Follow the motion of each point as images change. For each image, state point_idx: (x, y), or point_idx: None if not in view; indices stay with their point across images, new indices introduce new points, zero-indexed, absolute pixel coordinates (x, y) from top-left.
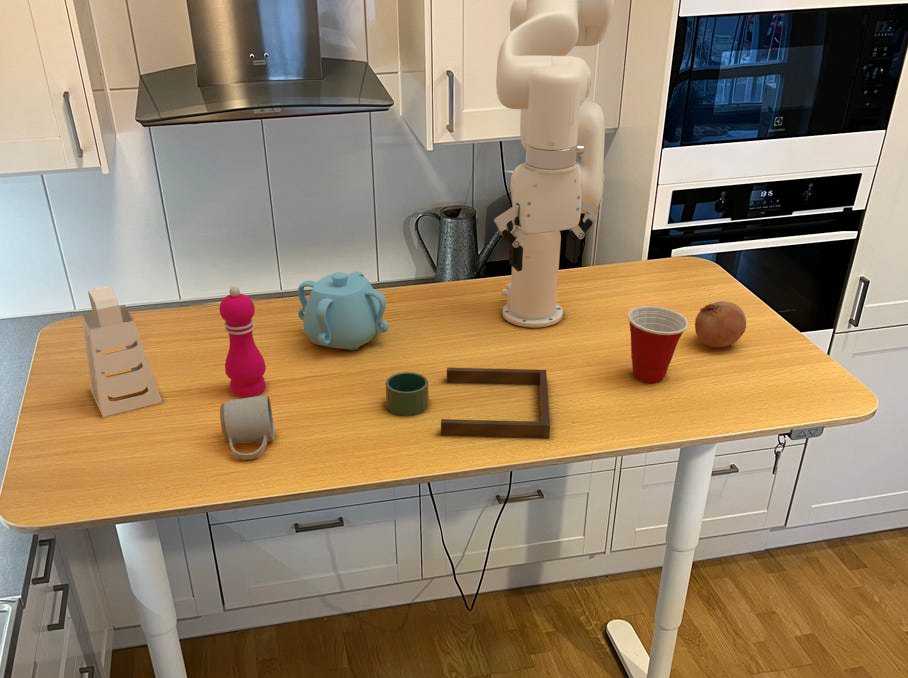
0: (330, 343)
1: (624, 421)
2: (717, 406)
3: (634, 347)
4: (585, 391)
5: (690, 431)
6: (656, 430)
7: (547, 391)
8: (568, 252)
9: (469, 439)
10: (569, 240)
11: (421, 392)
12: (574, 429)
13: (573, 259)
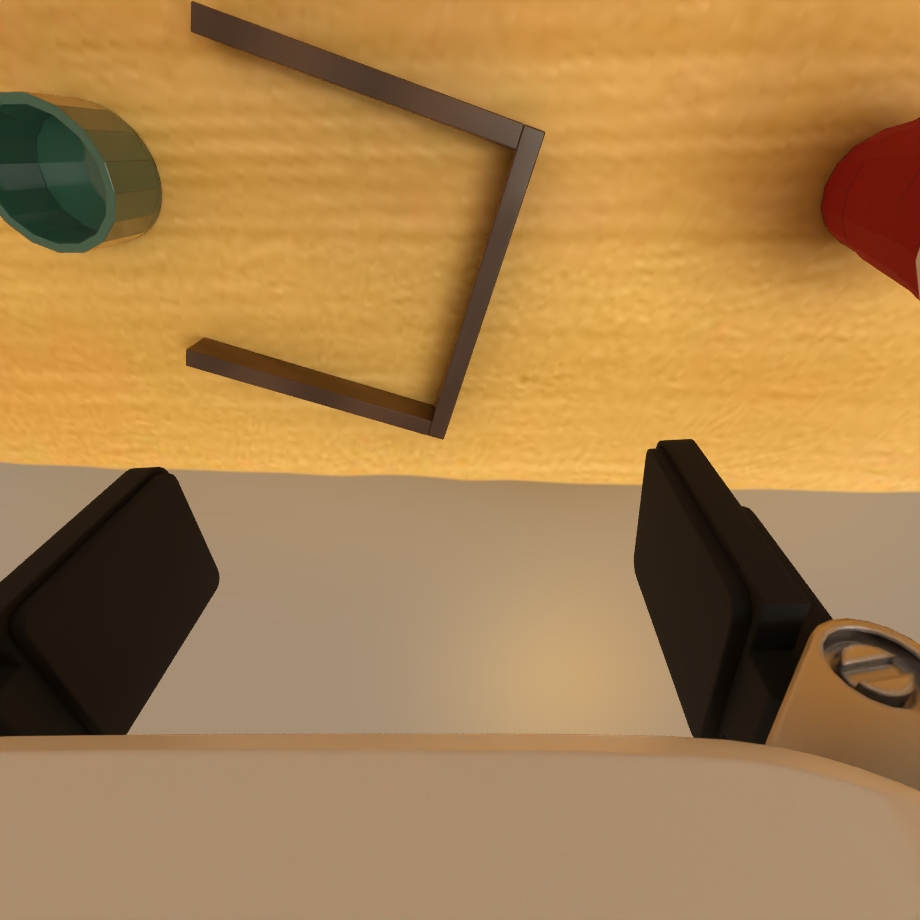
0: None
1: (641, 403)
2: (898, 399)
3: (876, 210)
4: (630, 233)
5: (751, 472)
6: None
7: (494, 283)
8: (658, 529)
9: None
10: (701, 628)
11: (105, 242)
12: (514, 405)
13: (642, 589)
